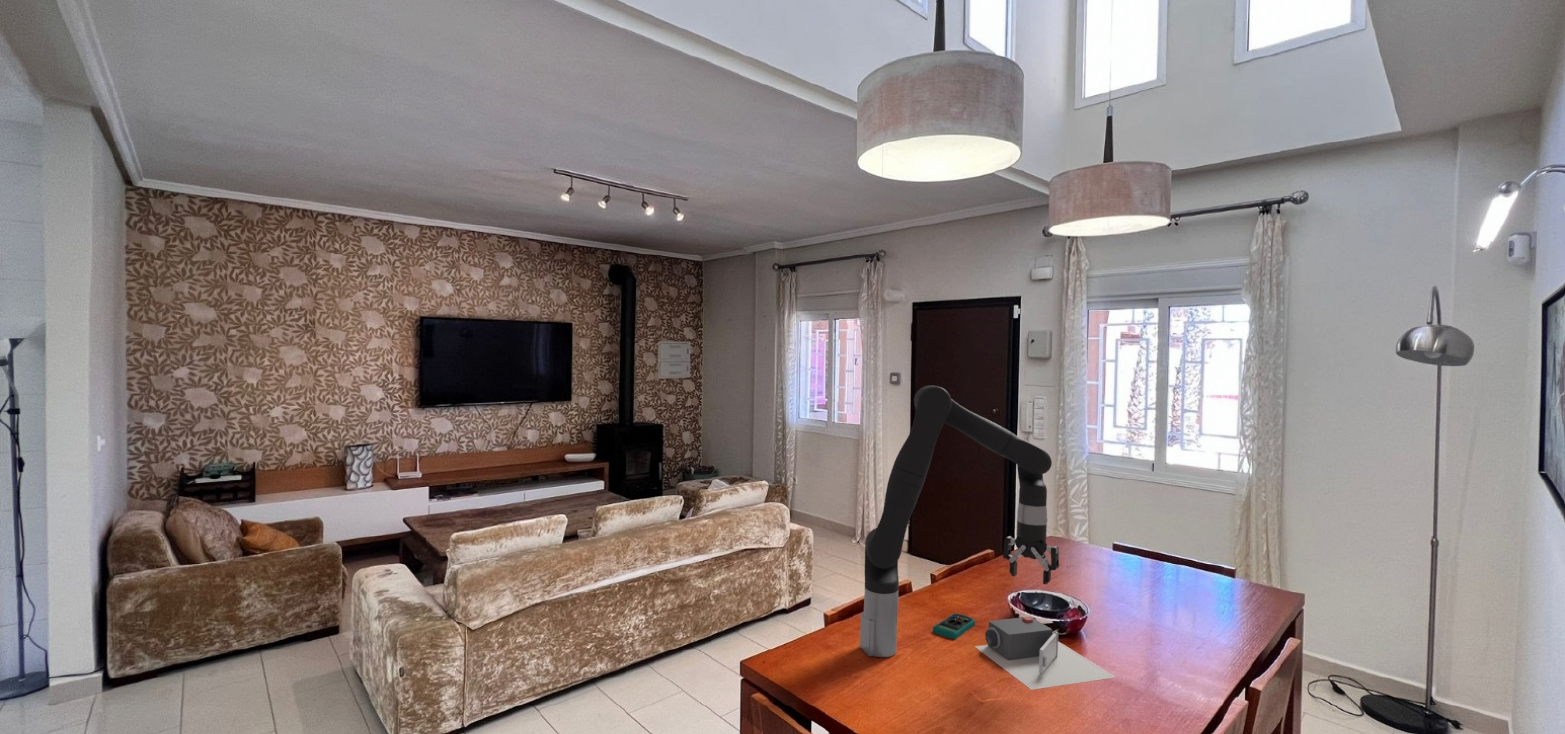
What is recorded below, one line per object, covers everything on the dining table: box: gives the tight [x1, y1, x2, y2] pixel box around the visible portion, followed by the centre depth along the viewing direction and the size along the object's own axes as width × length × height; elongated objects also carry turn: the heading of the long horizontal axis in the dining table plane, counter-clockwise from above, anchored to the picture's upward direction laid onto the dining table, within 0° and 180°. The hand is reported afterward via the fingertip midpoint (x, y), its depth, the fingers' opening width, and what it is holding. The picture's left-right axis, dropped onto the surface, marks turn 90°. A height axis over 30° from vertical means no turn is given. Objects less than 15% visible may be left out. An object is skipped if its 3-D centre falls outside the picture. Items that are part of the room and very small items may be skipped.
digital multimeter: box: [932, 612, 976, 640], centre depth 191 cm, size 7×15×3 cm, turn 140°
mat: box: [974, 640, 1116, 691], centre depth 172 cm, size 26×24×1 cm
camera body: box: [984, 616, 1053, 660], centre depth 177 cm, size 16×9×8 cm, turn 107°
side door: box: [1039, 630, 1059, 673], centre depth 169 cm, size 14×2×6 cm, turn 142°
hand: (1029, 579), depth 173 cm, fingers open, 8 cm apart
